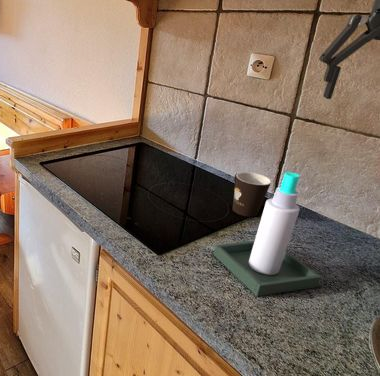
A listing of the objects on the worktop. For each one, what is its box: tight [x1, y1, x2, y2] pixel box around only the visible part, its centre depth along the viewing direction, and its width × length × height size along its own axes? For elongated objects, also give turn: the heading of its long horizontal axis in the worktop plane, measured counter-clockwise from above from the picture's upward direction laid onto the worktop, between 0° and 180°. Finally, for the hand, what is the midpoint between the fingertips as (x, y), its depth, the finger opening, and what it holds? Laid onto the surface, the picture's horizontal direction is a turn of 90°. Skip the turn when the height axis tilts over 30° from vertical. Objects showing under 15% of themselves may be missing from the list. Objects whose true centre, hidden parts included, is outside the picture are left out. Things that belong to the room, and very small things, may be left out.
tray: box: [213, 240, 322, 297], centre depth 87 cm, size 15×15×3 cm
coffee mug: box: [232, 171, 272, 218], centre depth 112 cm, size 12×9×10 cm
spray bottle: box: [249, 171, 301, 275], centre depth 83 cm, size 6×6×22 cm
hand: (363, 100), depth 85 cm, fingers open, 13 cm apart
